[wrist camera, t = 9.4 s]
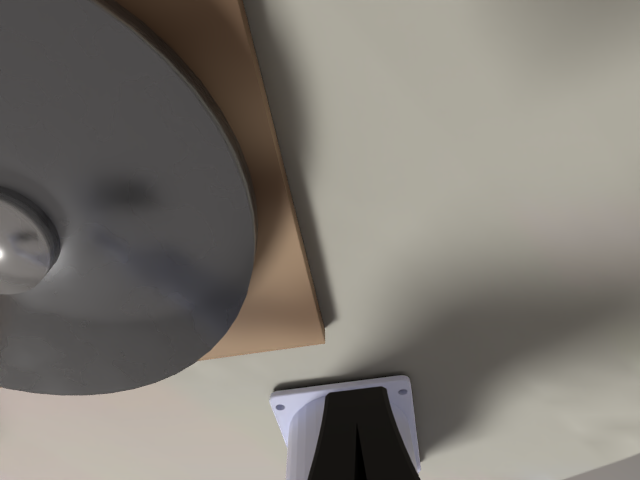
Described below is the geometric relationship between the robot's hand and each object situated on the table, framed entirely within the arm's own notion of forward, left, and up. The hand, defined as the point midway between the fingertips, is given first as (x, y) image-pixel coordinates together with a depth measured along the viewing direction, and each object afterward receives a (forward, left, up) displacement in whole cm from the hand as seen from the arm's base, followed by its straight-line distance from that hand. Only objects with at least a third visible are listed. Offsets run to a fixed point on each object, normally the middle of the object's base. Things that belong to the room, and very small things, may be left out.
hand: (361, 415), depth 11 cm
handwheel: (+3, +12, -9) cm, 15 cm away
